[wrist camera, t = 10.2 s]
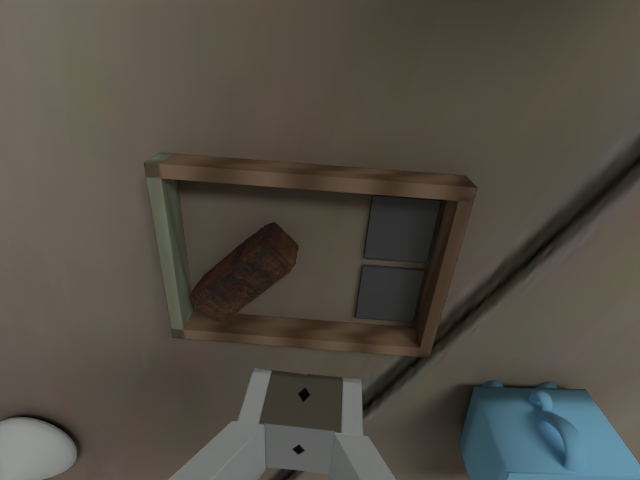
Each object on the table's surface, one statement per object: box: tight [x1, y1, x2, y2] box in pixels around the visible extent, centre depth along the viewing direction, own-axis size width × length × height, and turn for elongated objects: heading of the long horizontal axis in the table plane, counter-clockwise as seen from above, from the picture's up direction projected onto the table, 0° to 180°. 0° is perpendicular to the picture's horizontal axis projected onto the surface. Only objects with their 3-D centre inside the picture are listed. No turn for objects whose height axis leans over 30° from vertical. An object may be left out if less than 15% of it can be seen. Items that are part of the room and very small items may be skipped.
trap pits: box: [356, 195, 441, 322], centre depth 36 cm, size 6×14×1 cm, turn 176°
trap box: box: [144, 153, 477, 358], centre depth 35 cm, size 26×18×3 cm
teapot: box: [459, 380, 640, 480], centre depth 39 cm, size 18×16×13 cm
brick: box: [190, 223, 298, 322], centre depth 35 cm, size 11×4×5 cm, turn 132°
